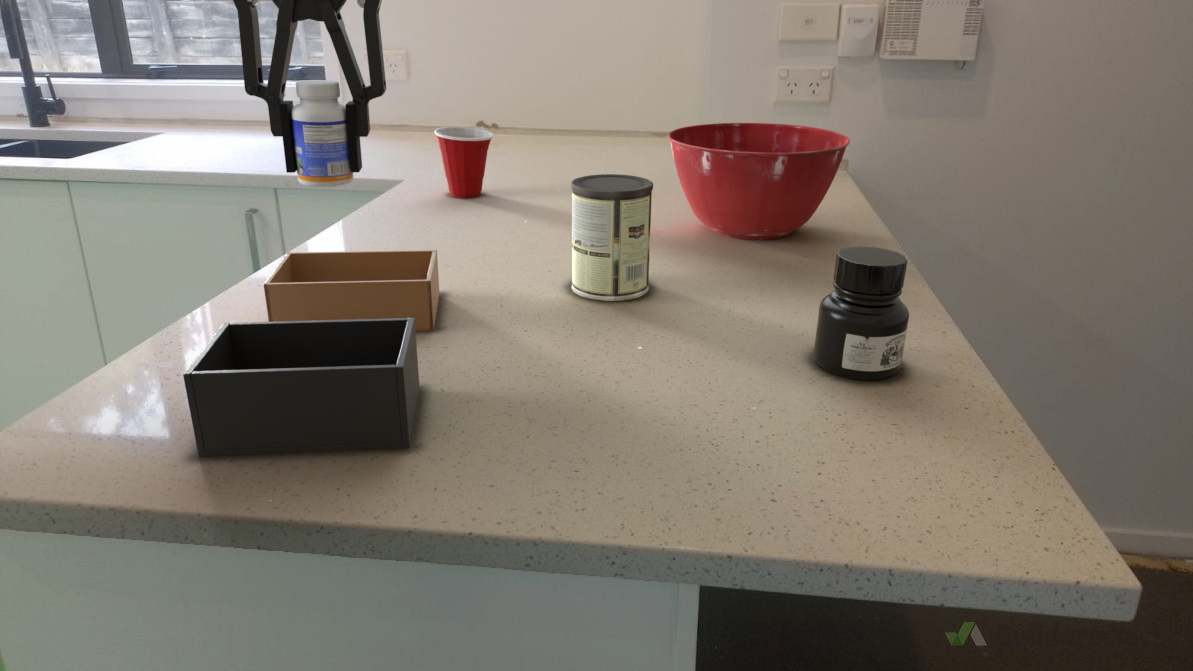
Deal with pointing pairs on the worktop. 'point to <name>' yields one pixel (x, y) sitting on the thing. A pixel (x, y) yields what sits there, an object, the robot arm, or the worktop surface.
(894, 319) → the ink bottle
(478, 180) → the plastic cup
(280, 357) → the open box
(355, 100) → the robot arm
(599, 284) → the coffee can
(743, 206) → the mixing bowl
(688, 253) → the worktop surface
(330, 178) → the pill bottle
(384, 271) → the carton
